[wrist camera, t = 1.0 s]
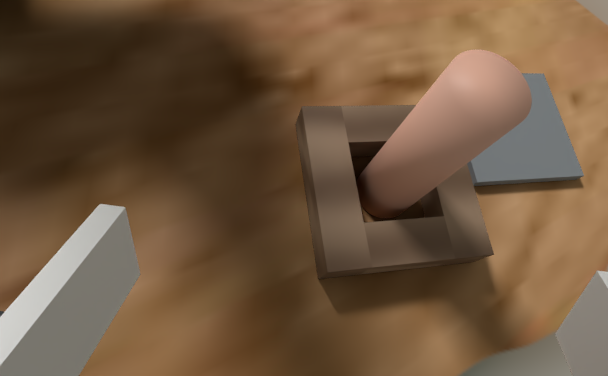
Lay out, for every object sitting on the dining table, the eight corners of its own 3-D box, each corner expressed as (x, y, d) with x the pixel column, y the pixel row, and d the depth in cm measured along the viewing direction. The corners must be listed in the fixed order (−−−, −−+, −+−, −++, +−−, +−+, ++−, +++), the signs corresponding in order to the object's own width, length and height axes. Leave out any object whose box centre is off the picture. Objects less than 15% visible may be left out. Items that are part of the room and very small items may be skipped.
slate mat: (439, 78, 44) (444, 72, 43) (537, 79, 46) (543, 73, 45) (471, 186, 39) (477, 182, 39) (575, 179, 42) (583, 175, 41)
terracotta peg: (350, 167, 38) (437, 48, 23) (401, 164, 39) (515, 50, 24) (361, 220, 36) (461, 128, 21) (414, 216, 37) (544, 126, 23)
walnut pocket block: (295, 124, 38) (301, 106, 35) (434, 121, 41) (449, 104, 39) (318, 279, 33) (327, 272, 31) (472, 261, 37) (493, 254, 34)
